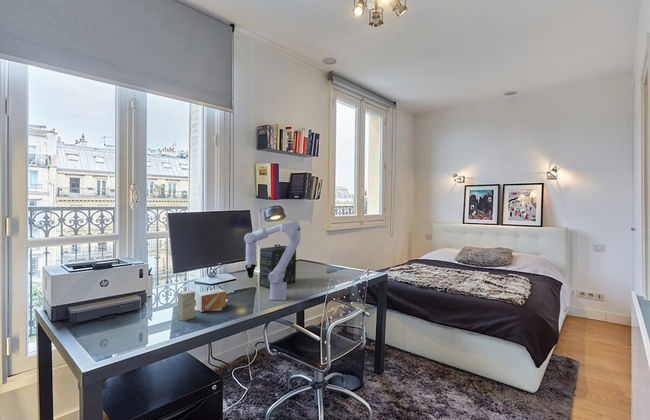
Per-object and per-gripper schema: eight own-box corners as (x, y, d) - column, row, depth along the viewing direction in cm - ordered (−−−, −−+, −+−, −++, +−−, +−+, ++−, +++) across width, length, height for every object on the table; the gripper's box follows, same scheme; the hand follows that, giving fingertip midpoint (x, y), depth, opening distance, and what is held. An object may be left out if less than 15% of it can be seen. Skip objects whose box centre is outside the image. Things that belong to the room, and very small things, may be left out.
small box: (226, 306, 167) (201, 312, 158) (220, 303, 172) (195, 309, 163) (226, 290, 167) (201, 295, 158) (220, 288, 172) (195, 293, 162)
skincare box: (183, 321, 147) (183, 294, 147) (177, 319, 150) (177, 292, 149) (195, 317, 153) (195, 291, 152) (189, 315, 155) (189, 289, 155)
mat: (228, 299, 179) (228, 299, 179) (220, 310, 163) (220, 309, 163) (201, 300, 178) (201, 299, 178) (191, 310, 161) (191, 310, 161)
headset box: (283, 279, 226) (283, 242, 226) (296, 282, 219) (296, 243, 219) (258, 286, 208) (259, 245, 207) (272, 289, 201) (272, 247, 200)
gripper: (245, 251, 194) (245, 274, 194) (241, 256, 180) (241, 280, 180) (257, 251, 195) (257, 274, 195) (254, 256, 180) (254, 280, 181)
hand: (250, 277), depth 188 cm, fingers closed
